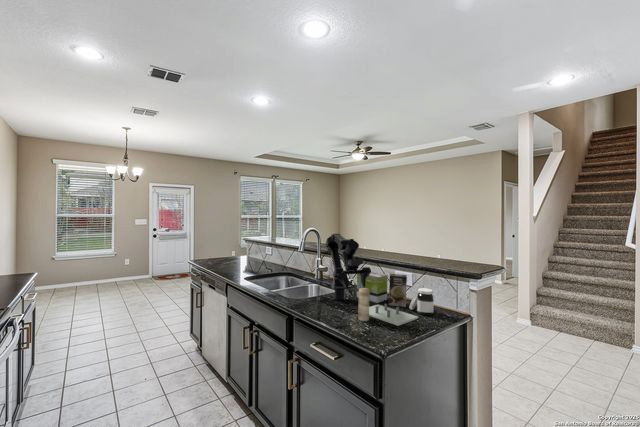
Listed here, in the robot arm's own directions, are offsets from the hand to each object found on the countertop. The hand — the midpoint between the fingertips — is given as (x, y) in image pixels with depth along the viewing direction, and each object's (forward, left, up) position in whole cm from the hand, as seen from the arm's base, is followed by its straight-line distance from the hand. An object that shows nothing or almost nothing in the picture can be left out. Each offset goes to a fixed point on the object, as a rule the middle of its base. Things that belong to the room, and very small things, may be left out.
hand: (355, 287), depth 150 cm
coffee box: (-21, +21, -13) cm, 33 cm away
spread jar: (-11, +32, -13) cm, 37 cm away
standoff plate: (-2, +15, -13) cm, 20 cm away
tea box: (-29, +7, -13) cm, 33 cm away
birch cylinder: (+7, +4, -13) cm, 15 cm away
